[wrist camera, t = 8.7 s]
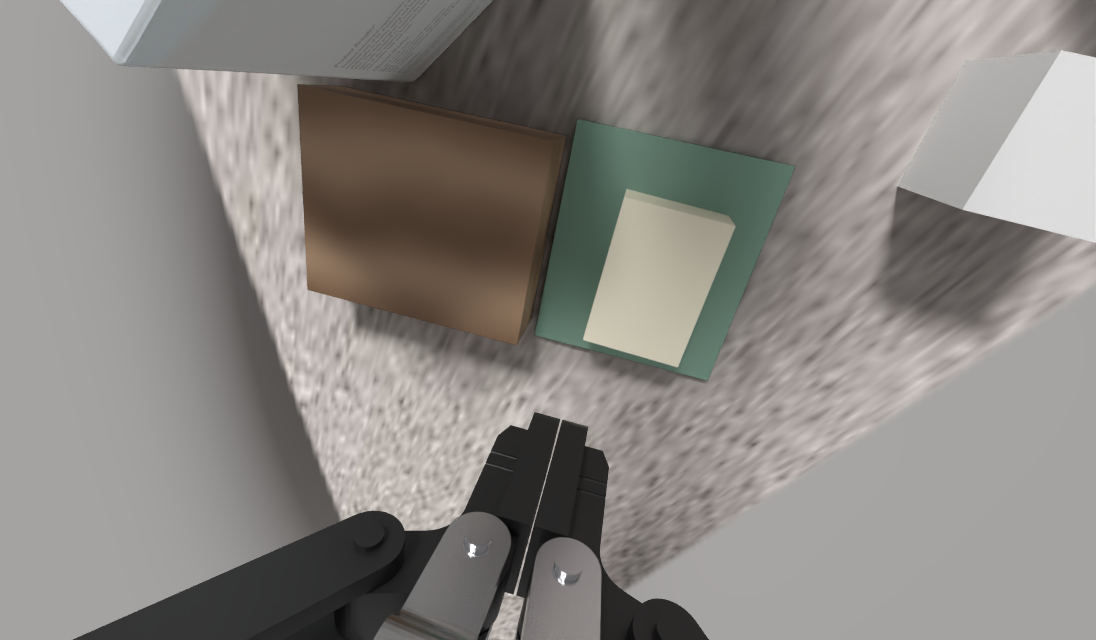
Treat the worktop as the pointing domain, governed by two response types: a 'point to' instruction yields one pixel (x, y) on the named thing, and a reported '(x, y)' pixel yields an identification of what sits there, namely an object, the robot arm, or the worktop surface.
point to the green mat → (670, 173)
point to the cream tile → (657, 276)
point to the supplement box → (279, 34)
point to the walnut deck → (425, 208)
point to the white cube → (1016, 143)
